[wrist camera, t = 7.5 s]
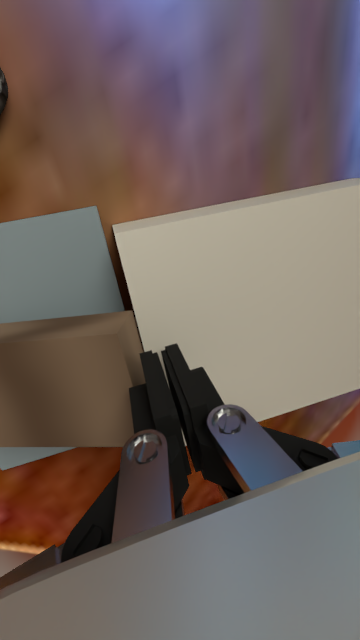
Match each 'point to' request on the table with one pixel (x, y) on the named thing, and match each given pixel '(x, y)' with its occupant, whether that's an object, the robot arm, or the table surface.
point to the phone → (3, 91)
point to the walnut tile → (69, 380)
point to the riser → (255, 293)
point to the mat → (54, 282)
